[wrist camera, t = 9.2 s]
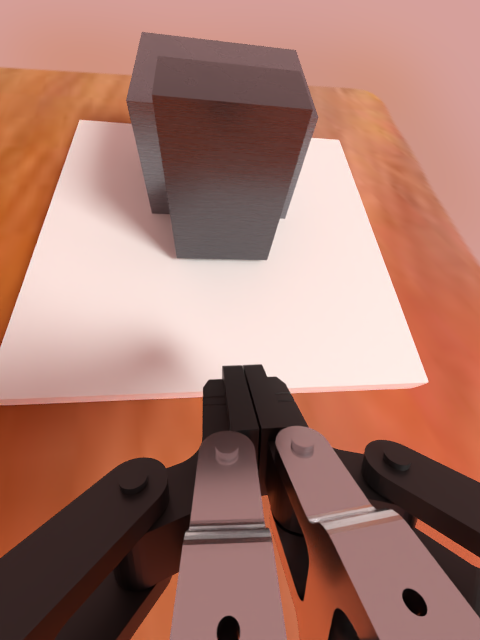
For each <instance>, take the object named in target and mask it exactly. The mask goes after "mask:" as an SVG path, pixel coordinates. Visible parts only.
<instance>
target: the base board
mask: <svg viewBox="0 0 480 640" xmlns="http://www.w3.org/2000/svg"><path fill="white" fill-rule="evenodd" d="M254 364H262V365H263V368H264V370H265V372H266V375H267V377H278V378H279V379H280V380H282V381H283V382H284V383H285V384H286V385H287V387H288V389H289V391H290V393H309V392H333V391H357V390H380V389H404V388H414V387H417V386H420V385H423V384H426V383H429V382H428V379H427V376H426V374H425V371H424V368H423V366H422V363H421V360H420V358H419V355H418V352H417V349H416V347H415V344H414V341H413V339H412V336H411V333H410V331H409V328H408V325H407V322H406V320H405V317H404V314H403V312H402V309H401V306H400V304H399V301H398V298H397V295H396V293H395V290H394V287H393V285H392V282H391V279H390V277H389V274H388V271H387V268H386V266H385V263H384V260H383V258H382V255H381V252H380V249H379V247H378V244H377V241H376V239H375V236H374V233H373V231H372V228H371V225H370V222H369V220H368V217H367V214H366V212H365V209H364V206H363V204H362V201H361V198H360V195H359V193H358V190H357V187H356V185H355V182H354V179H353V177H352V174H351V171H350V168H349V166H348V163H347V160H346V158H345V155H344V152H343V150H342V147H341V144H340V141H339V140H332V139H319V138H311V141H310V144H309V147H308V150H307V153H306V156H305V159H304V162H303V165H302V168H301V172H300V175H299V178H298V181H297V184H296V187H295V190H294V193H293V196H292V199H291V202H290V205H289V208H288V211H287V214H286V217H285V219H280V220H279V223H278V226H277V230H276V233H275V236H274V239H273V243H272V246H271V249H270V253H269V256H268V259H267V260H234V259H184V258H177V257H176V250H175V244H174V237H173V231H172V224H171V218H170V214H152V212H151V207H150V203H149V198H148V194H147V189H146V185H145V181H144V176H143V172H142V167H141V163H140V159H139V154H138V150H137V145H136V141H135V137H134V132H133V128H132V124H127V123H114V122H101V121H88V120H80V121H79V123H78V126H77V129H76V132H75V135H74V138H73V141H72V143H71V146H70V149H69V152H68V155H67V158H66V161H65V164H64V166H63V169H62V172H61V175H60V178H59V181H58V184H57V187H56V189H55V192H54V195H53V198H52V201H51V204H50V207H49V209H48V212H47V215H46V218H45V221H44V224H43V227H42V230H41V232H40V235H39V238H38V241H37V244H36V247H35V250H34V252H33V255H32V258H31V261H30V264H29V267H28V270H27V273H26V275H25V278H24V281H23V284H22V287H21V290H20V293H19V296H18V298H17V301H16V304H15V307H14V310H13V313H12V316H11V318H10V321H9V324H8V327H7V330H6V333H5V336H4V339H3V341H2V344H1V347H0V405H25V404H48V403H72V402H96V401H119V400H143V399H167V398H191V397H203V387H204V386H205V384H206V383H207V381H208V380H210V379H222V366H229V365H254Z"/></svg>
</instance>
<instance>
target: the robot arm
mask: <svg viewBox="0 0 480 640" xmlns="http://www.w3.org/2000/svg"><path fill="white" fill-rule="evenodd" d="M263 495H268V498H269V502H270V526H271V529H272V533H273V536H274V539H275V543H276V546H277V549H278V553H279V556H280V559H281V563H282V566H283V570H284V573H285V576H286V580H287V583H288V586H289V590H290V593H291V596H292V600H293V603H294V607H295V611H296V615H297V621H298V629H299V638H300V640H480V568H477V567H475V566H473V565H471V564H470V563H468V562H467V561H465V560H464V559H462V558H461V557H459V556H458V555H456V554H454V553H453V552H451V551H450V550H448V549H447V548H445V547H444V546H442V545H441V544H439V543H438V542H436V541H435V540H433V539H432V538H430V537H428V536H427V535H425V534H424V533H422V532H421V531H419V530H418V529H416V528H415V525H416V522H417V519H420V520H421V521H423V522H424V523H426V524H428V525H429V526H431V527H432V528H434V529H435V530H437V531H439V532H440V533H442V534H443V535H445V536H447V537H448V538H450V539H451V540H453V541H454V542H456V543H458V544H459V545H461V546H462V547H464V548H466V549H467V550H469V551H470V552H472V553H474V554H475V555H477V556H478V557H480V483H479V482H477V481H475V480H473V479H471V478H469V477H467V476H465V475H463V474H461V473H459V472H457V471H455V470H453V469H451V468H449V467H447V466H444V465H442V464H440V463H438V462H436V461H434V460H432V459H430V458H428V457H426V456H424V455H422V454H420V453H418V452H416V451H414V450H412V449H410V448H408V447H406V446H403V445H401V444H399V443H396V442H392V441H387V440H376V441H372V442H370V443H369V444H368V445H367V446H366V448H365V452H364V454H360V453H354V452H348V451H343V450H338V449H335V448H332V447H331V445H330V444H329V442H328V441H327V440H326V438H325V437H324V436H323V435H321V434H320V433H319V432H317V431H315V430H313V429H311V428H309V427H308V425H307V423H306V422H305V420H304V418H303V416H302V414H301V412H300V410H299V408H298V406H297V404H296V403H295V402H294V399H293V397H292V395H291V394H290V391H289V389H288V387H287V385H286V384H285V383H284V382H283V381H282V380H280V379H279V378H278V377H267V375H266V372H265V370H264V368H263V365H262V364H254V365H229V366H222V379H210V380H208V381H207V383H206V384H205V386H204V387H203V437H202V443H201V446H200V448H199V450H198V451H197V452H196V453H195V454H194V455H193V456H192V457H191V458H189V459H188V460H186V461H184V462H182V463H180V464H177V465H174V466H172V467H169V468H165V466H164V465H163V464H162V463H161V462H159V461H158V460H155V459H152V458H136V459H132V460H129V461H126V462H124V463H122V464H120V465H119V466H117V467H116V468H114V469H113V470H112V471H110V472H109V473H108V474H107V475H105V476H104V477H103V478H102V479H100V480H99V481H98V482H97V483H95V484H94V485H93V486H91V487H90V488H89V489H88V490H86V491H85V492H84V493H83V494H81V495H80V496H79V497H78V498H76V499H75V500H74V501H72V502H71V503H70V504H69V505H67V506H66V507H65V508H64V509H62V510H61V511H60V512H58V513H57V514H56V515H55V516H53V517H52V518H51V519H50V520H48V521H47V522H46V523H45V524H43V525H42V526H41V527H39V528H38V529H37V530H36V531H34V532H33V533H32V534H31V535H29V536H28V537H27V538H26V539H24V540H23V541H22V542H20V543H19V544H18V545H17V546H15V547H14V548H13V549H12V550H10V551H9V552H8V553H7V554H5V555H4V556H3V557H1V558H0V640H130V639H131V637H132V636H133V635H134V633H135V632H136V630H137V629H138V627H139V626H140V624H141V623H142V622H143V620H144V619H145V617H146V616H147V614H148V613H149V612H150V610H151V609H152V607H153V606H154V604H155V603H156V601H157V600H158V599H159V597H160V596H161V594H162V593H163V591H164V590H165V588H166V587H167V585H168V584H169V582H170V580H171V577H172V575H174V574H176V573H178V572H179V576H178V583H177V590H176V597H175V605H174V612H173V619H172V627H171V634H170V640H287V637H286V631H285V624H284V617H283V610H282V604H281V597H280V590H279V583H278V577H277V570H276V563H275V556H274V550H273V543H272V538H271V534H270V530H269V528H266V527H265V522H264V515H263V507H262V500H261V496H263Z"/></svg>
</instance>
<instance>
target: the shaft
mask: <svg viewBox="0 0 480 640" xmlns="http://www.w3.org/2000/svg"><path fill="white" fill-rule="evenodd" d="M152 100H153V107H154V113H155V120H156V126H157V133H158V139H159V146H160V152H161V159H162V165H163V172H164V178H165V185H166V192H167V198H168V205H169V211H170V218H171V224H172V231H173V237H174V244H175V250H176V257H177V258H184V259H234V260H267V259H268V256H269V253H270V249H271V246H272V243H273V239H274V236H275V233H276V230H277V226H278V223H279V220H280V216H281V213H282V210H283V207H284V203H285V200H286V197H287V193H288V190H289V187H290V184H291V180H292V177H293V174H294V170H295V167H296V164H297V161H298V157H299V154H300V151H301V147H302V144H303V141H304V138H305V134H306V131H307V128H308V125H309V121H310V118H311V115H312V111H313V108H312V105H311V102H310V99H309V96H308V93H307V90H306V87H305V84H304V81H303V77H302V74H301V71H293V70H284V69H274V68H265V67H256V66H247V65H238V64H228V63H219V62H210V61H201V60H192V59H182V58H173V57H164V56H158V57H157V64H156V70H155V77H154V83H153V90H152Z"/></svg>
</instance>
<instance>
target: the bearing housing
mask: <svg viewBox="0 0 480 640" xmlns="http://www.w3.org/2000/svg"><path fill="white" fill-rule="evenodd" d="M158 56H164V57H173V58H182V59H192V60H201V61H210V62H219V63H228V64H238V65H247V66H256V67H265V68H274V69H284V70H293V71H301V74H302V77H303V81H304V84H305V87H306V90H307V93H308V96H309V99H310V102H311V105H312V108H313V111H312V115H311V118H310V121H309V125H308V128H307V131H306V134H305V138H304V141H303V144H302V147H301V151H300V154H299V157H298V161H297V164H296V167H295V170H294V174H293V177H292V180H291V184H290V187H289V190H288V193H287V197H286V200H285V203H284V207H283V210H282V213H281V216H280V219H285V217H286V214H287V211H288V208H289V205H290V202H291V199H292V196H293V193H294V190H295V187H296V184H297V181H298V178H299V175H300V172H301V168H302V165H303V162H304V159H305V156H306V153H307V150H308V147H309V144H310V141H311V138H312V135H313V132H314V129H315V126H316V123H317V120H318V115H317V112H316V109H315V106H314V103H313V100H312V97H311V94H310V91H309V88H308V85H307V82H306V79H305V76H304V73H303V71H302V68H301V64H300V61H299V59H298V55H297V52H296V50H289V49H280V48H272V47H264V46H255V45H247V44H238V43H230V42H221V41H213V40H205V39H196V38H188V37H179V36H171V35H162V34H154V33H145V32H142V34H141V39H140V43H139V48H138V52H137V56H136V60H135V65H134V69H133V73H132V78H131V82H130V87H129V91H128V95H127V100H126V101H127V106H128V110H129V115H130V119H131V123H132V128H133V132H134V137H135V141H136V145H137V150H138V154H139V159H140V163H141V167H142V172H143V176H144V181H145V185H146V189H147V194H148V198H149V203H150V207H151V212H152V214H170V211H169V205H168V198H167V192H166V185H165V178H164V172H163V165H162V159H161V152H160V146H159V139H158V133H157V126H156V120H155V113H154V107H153V100H152V90H153V83H154V77H155V70H156V64H157V57H158Z"/></svg>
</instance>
